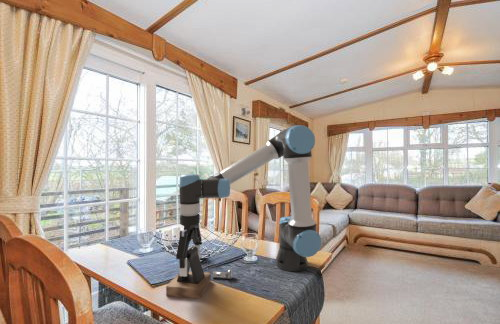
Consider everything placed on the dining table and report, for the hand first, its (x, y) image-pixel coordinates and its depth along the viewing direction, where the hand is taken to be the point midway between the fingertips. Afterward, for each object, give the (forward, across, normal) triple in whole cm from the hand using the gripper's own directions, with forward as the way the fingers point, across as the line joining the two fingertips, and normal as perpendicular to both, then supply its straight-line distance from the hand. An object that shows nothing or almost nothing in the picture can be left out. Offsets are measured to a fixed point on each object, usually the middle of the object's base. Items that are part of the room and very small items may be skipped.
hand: (190, 267), depth 98 cm
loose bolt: (+8, -10, +10) cm, 16 cm away
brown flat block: (+8, 0, 0) cm, 8 cm away
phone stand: (+5, 0, 0) cm, 5 cm away
